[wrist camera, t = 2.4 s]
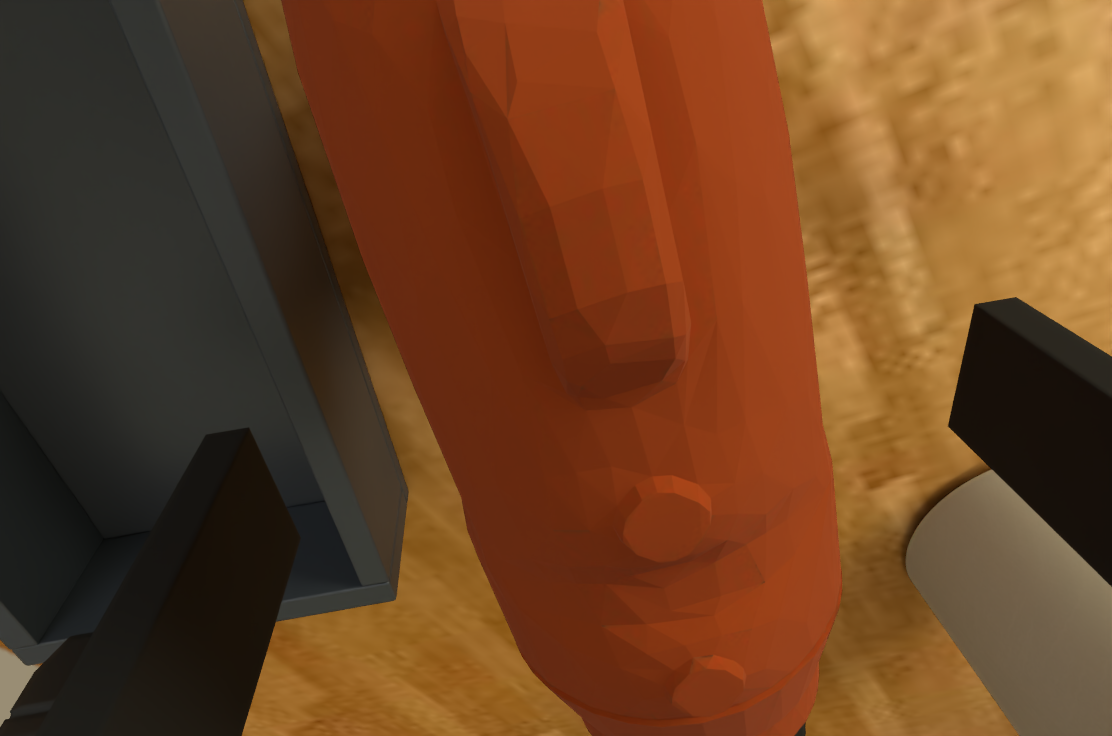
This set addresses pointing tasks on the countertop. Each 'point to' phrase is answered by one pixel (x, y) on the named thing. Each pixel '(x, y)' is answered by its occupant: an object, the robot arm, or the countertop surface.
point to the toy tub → (166, 313)
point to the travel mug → (1018, 608)
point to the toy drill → (602, 332)
